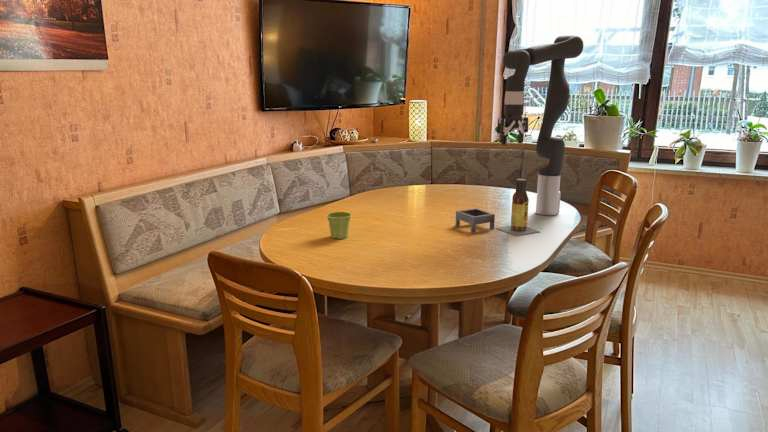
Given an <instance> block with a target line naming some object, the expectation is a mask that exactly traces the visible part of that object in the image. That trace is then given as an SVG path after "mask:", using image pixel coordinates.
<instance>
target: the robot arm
mask: <svg viewBox="0 0 768 432" xmlns="http://www.w3.org/2000/svg"><path fill="white" fill-rule="evenodd" d="M583 50H584V41H583V39H582V38H581V37H580V36H578V35H576V34H575V35H574V34H573V35H572V34H570V35H569V34H568V35H559V36H558V37H556V38H555V40H554V41H553V43H546V44H539V45H535V46H530V47H527V48H526V47H525V48H521V49H513V50H509V51H507V52H506V53H505V54H504V55H503V57H502V58H503V59H502V62H503V65H504V67H505V68H506V69H509V70H514V73H513V74H512V75H509V76H507V78H506V81H505V82H506V83H505V95H504V103H503V105H504V107H503V108H504V109H503V114H504V118H497V128H496V133H497V134H498V135H500V143H501V145H503V146H506V145H507V140H508V139H507V137H508V136H507V134H508V133H509V131H510V132H511V130H516V132H517V143H518V144H523V142H524V135H525V134H526V133H528V132H529V117H528V116H527V117H525V116H523V115H524V109H525V83H526V82H525V81H526V79H527V75H528V73H529V72H528V71H529V69H530V66H535V65H539V64H542V63H545V62H551V63H550V74H549V81H548V87H547V92H546V97H545V103H544V111H543V116H542V121H541V125H540V128H539V129H540V130H539V133H538V137H537V141H536V145H535V151H536V152H535V153H536V155H537V156H538V157H539V158H541V159H547V160H548V159H549V160H548V163H547V164H546V165H542V166H540V167H539V168H538V176H537V188H536V189H537V190H536V202H535V203H536V205H535V213H536V214H538V215H542V216H555V215H558V214H560V208H561V207H560V206H561V191H560V186H561V185H560V184H561V174H562V173H561V172H562V169H563V164H564V158H565V149H566V145H565V141H564V139H563V138H561V137H554V136H552V133H553V129H554V127H555V125H556V124H557V122H558V121H559V119H560V118H561V117H562V116H563V115H564V114H565V112H566V110H567V109H568V107H569V106H568V104H569V99H570V93H571V89H570V86H569V83H568V80H567V77H566V74H565V62H566V60H567V59H576V58H578V57H579V56H581V54H582V53H583Z"/></svg>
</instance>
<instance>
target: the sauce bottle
mask: <svg viewBox="0 0 768 432" xmlns="http://www.w3.org/2000/svg"><path fill="white" fill-rule="evenodd" d="M527 182H528V181H527V179H525V178H516V179H515V183H516V184H515V185H516V187H515V192H514V193H513V195H512V199H511V200H512V202H511V212H510V213H511V215H510V226H511V229H512V230H515V231H524V230H526V228H527V227H528V217H529V216H528V215H529V204H530V203H529V202H530V199H529V196H528V193H527Z"/></svg>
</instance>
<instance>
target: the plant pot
mask: <svg viewBox="0 0 768 432" xmlns="http://www.w3.org/2000/svg"><path fill="white" fill-rule="evenodd" d="M325 217H326V219H327V221H328V225H329V231H330V236H331V238H332V239H337V240H341V239H342V240H343V239H346V238H347V237H348V235H349V227H350V220H351V218H352V213H350V212H348V211H334V212H333V211H332V212H329V213H327V214H326V215H325Z"/></svg>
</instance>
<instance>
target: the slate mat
mask: <svg viewBox="0 0 768 432" xmlns="http://www.w3.org/2000/svg"><path fill="white" fill-rule="evenodd" d="M495 229H496V230H498V231H501V232H504V233H505V234H506V233H507V234H509V235H512V236H514V237H522V236H526V235H527V236H528V235H533V234H538V233H541V230H538V229H536V228H533V227H529V226H527V228H526V230H524V231H515V230H512V229H511V225H506V226H505V225H504V226H499V227H495Z"/></svg>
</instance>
